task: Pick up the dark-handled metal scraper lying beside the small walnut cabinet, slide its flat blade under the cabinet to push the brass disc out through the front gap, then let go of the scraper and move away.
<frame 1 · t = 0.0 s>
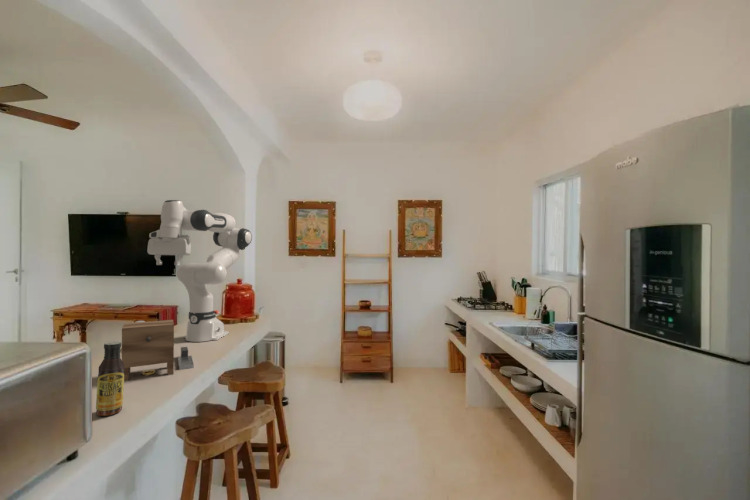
hand: (168, 265, 168), 39 cm above the breakfast bar, tool pointing down, fingers open, 8 cm apart
brass disc: (148, 374, 139), on the breakfast bar
walnut cabinet: (148, 373, 139), on the breakfast bar
sauce bottle: (110, 413, 106), on the breakfast bar
scraper: (184, 358, 158), on the breakfast bar
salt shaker: (139, 349, 170), on the breakfast bar
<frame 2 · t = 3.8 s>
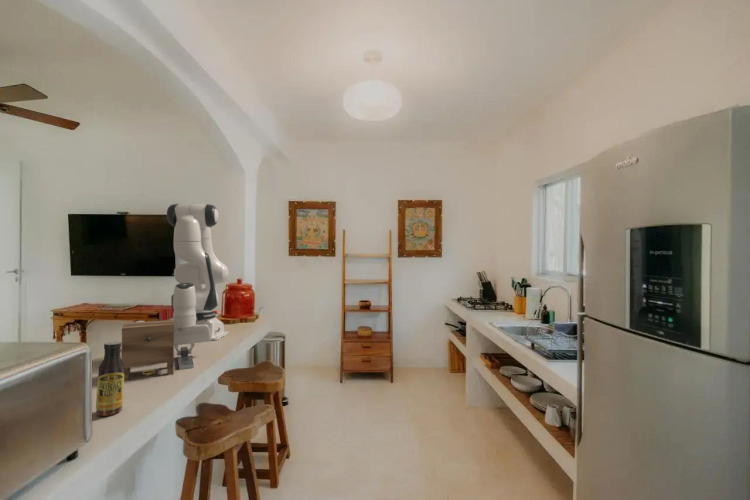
hand: (184, 354, 158), 2 cm above the breakfast bar, tool pointing down, fingers closed on scraper, 2 cm apart
scraper: (184, 358, 158), on the breakfast bar, touching gripper
everything else where it was.
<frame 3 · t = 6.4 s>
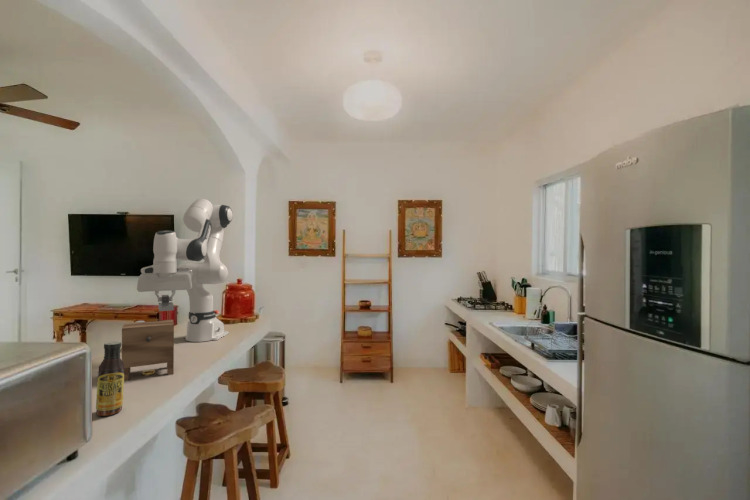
hand: (165, 301, 158), 24 cm above the breakfast bar, tool pointing down, fingers closed on scraper, 2 cm apart
scraper: (165, 305, 158), point 22 cm above the breakfast bar, touching gripper
everything else where it was.
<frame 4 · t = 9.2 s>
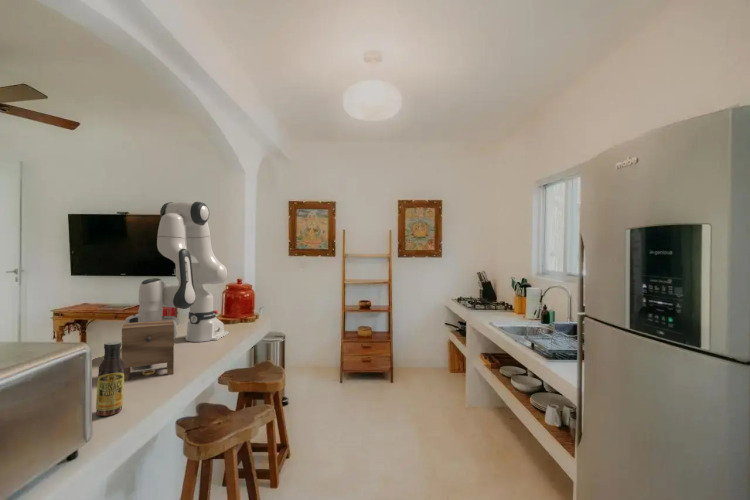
hand: (150, 349, 158), 3 cm above the breakfast bar, tool pointing down, fingers closed on scraper, 2 cm apart
scraper: (150, 353, 158), point 2 cm above the breakfast bar, touching gripper
everything else where it was.
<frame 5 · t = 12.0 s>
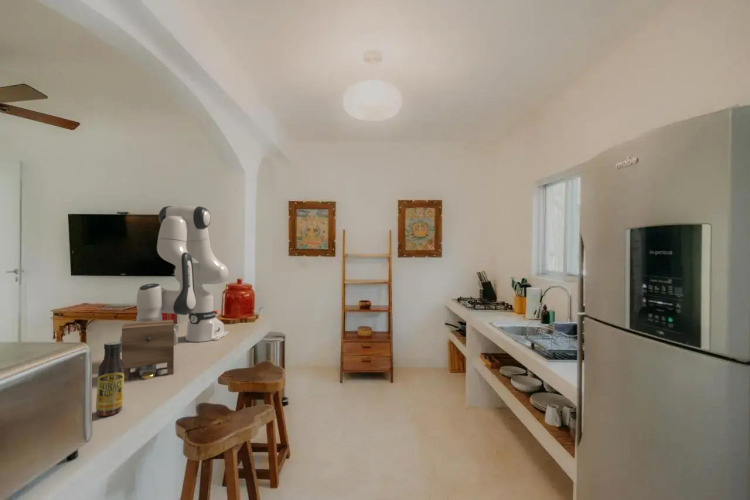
hand: (149, 359, 150), 2 cm above the breakfast bar, tool pointing down, fingers closed on scraper, 2 cm apart
brass disc: (148, 377, 134), on the breakfast bar
scraper: (149, 363, 150), on the breakfast bar, touching gripper
everything else where it was.
when the fingers open (2 cm above the breakfast bar, at t = 14.9 s): scraper stays where it is, on the breakfast bar.
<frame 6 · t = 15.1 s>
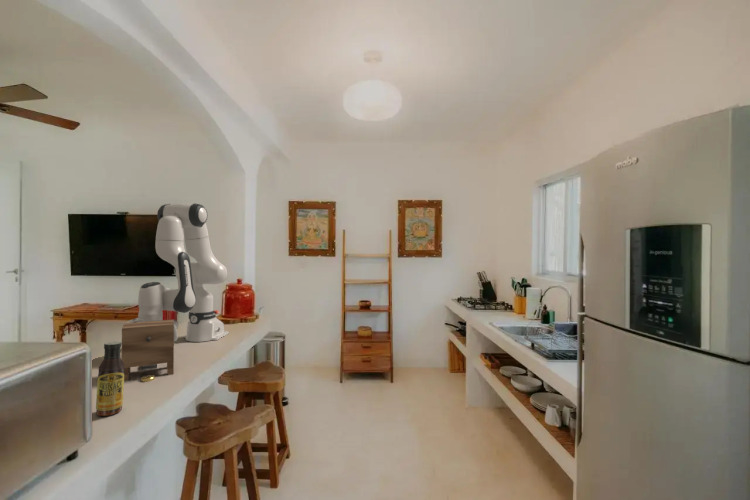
hand: (150, 354, 157), 2 cm above the breakfast bar, tool pointing down, fingers open, 4 cm apart
brass disc: (148, 380, 132), on the breakfast bar
scraper: (150, 358, 157), on the breakfast bar
everything else where it was.
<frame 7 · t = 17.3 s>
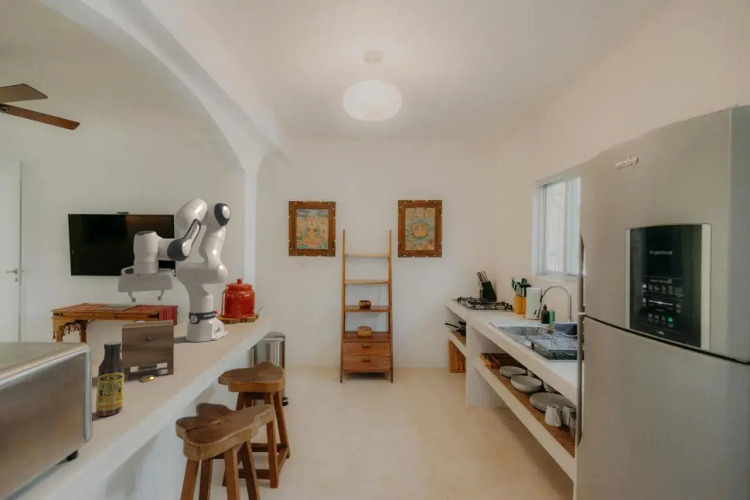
hand: (146, 301, 159), 24 cm above the breakfast bar, tool pointing down, fingers open, 8 cm apart
nothing on the breakfast bar moved.
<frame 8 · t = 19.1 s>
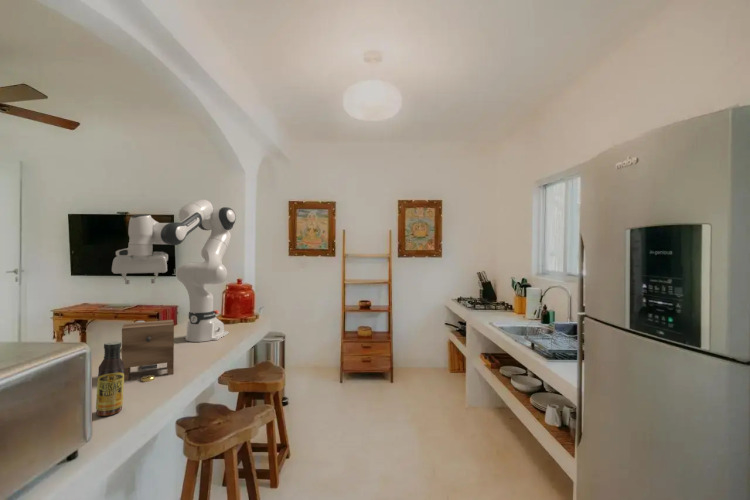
hand: (140, 283, 160), 31 cm above the breakfast bar, tool pointing down, fingers open, 8 cm apart
nothing on the breakfast bar moved.
at the end: brass disc inside the target area (4.2 cm from its centre), on the breakfast bar; brass disc moved 7.5 cm from its start; the gripper is holding nothing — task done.
